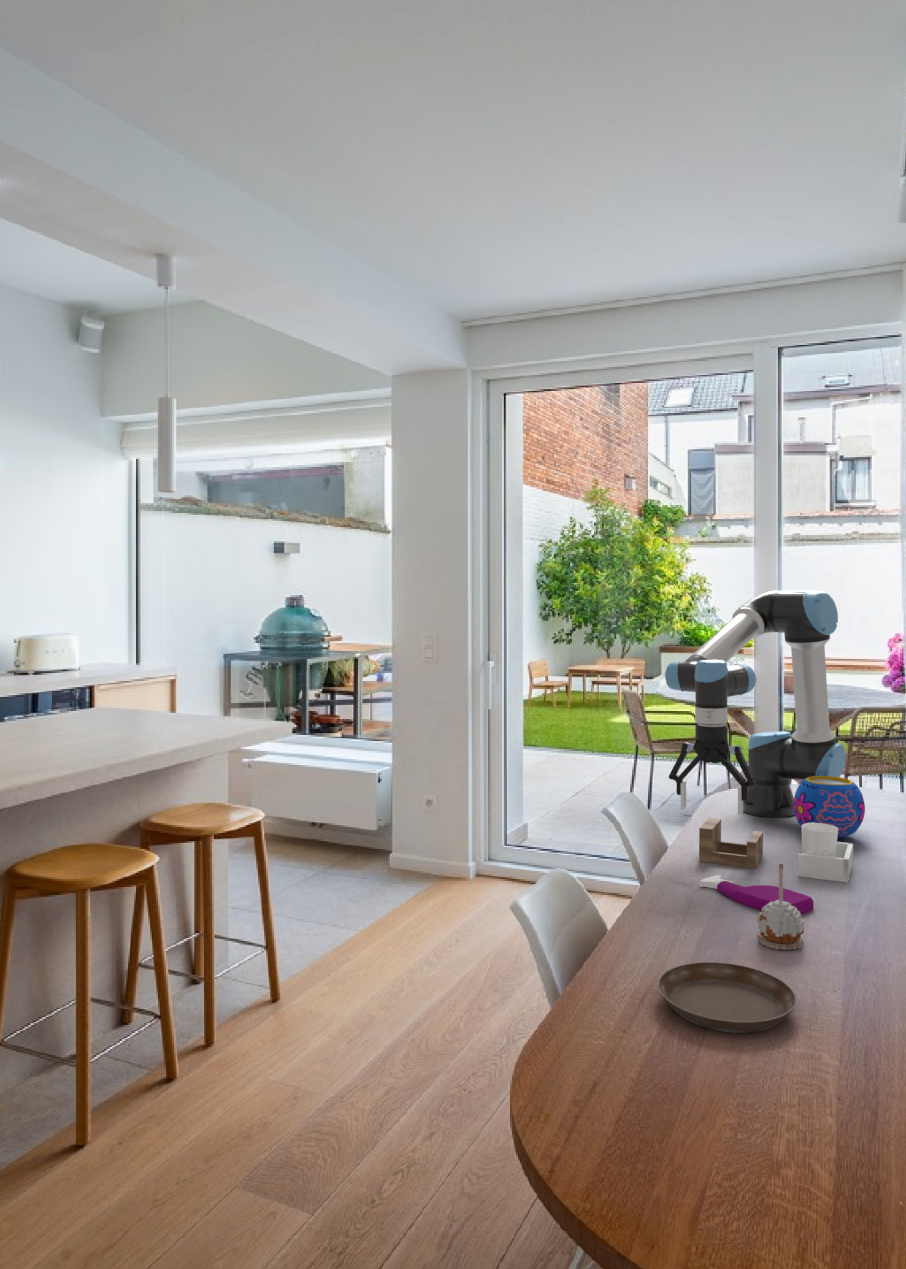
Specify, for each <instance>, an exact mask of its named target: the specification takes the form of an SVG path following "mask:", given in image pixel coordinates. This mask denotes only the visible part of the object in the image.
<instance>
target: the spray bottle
mask: <svg viewBox="0 0 906 1269" xmlns="http://www.w3.org/2000/svg"><path fill="white" fill-rule="evenodd" d="M699 881H700V882H699V887H700V888H710V889H715V890H717V891H718V892H720V893H721V894H723V895H725V896H726V897H728V898H730V899H732V900H733V901H734V902H736V903H738V902H739V903H738V904H741V905H743V906H746V907H748V908H751V909H754V908H755V909H754V910H757V909H758V911H760V910H761V911H760V912H762V908H763V907H764V906H766V905H767V904H768V903H770V902H775V901H776V900H779V886H775V885H763V884H762V885H747V886H743V885H740V884H736V882H735V881H732V880H727V879H723V878H722V875H720V874H718V875H713V876H710V877H706V878H703V879H700V880H699ZM783 901H785V902H789V903H790V904H791V906H794V907H795V908H797V910H798V911H799V912H800V914H801V915H803V914H807V913H811V912H812V911H813V910H814V908H815V907H814V905H815V902H814V900H813V898H812V897H811V896H809V895H807V894H803V893H800V892H797V891H794V890H792V889H787V888H784V887H783Z"/></svg>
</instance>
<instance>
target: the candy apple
mask: <svg viewBox="0 0 906 1269" xmlns="http://www.w3.org/2000/svg"><path fill="white" fill-rule="evenodd" d="M778 869H779V870H778V887H779V900H776V901H775V902H770V903H768V904H767V905H766V906H764V907H763V908H762V911H760V912H759V913H758V916H757V921H756V922H757V929H758V930H759V933H758V934H757V936H756V938H757V941H758V942H759V943H760V944H761V945H764V946H766V947H767V948H771V949H775V950H785V951H786V950H795V949H801V948H803V946H804V945H805V942H804V939H803V938H801V937H802V935H803V934H804V931H805V920H804V918H803V917H802V914H800V912H799V911H798V910H797V908H795V907H794V906H791V904H790V903H789V902H785V901H783V888H784V863H779V864H778Z"/></svg>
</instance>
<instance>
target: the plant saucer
mask: <svg viewBox="0 0 906 1269" xmlns="http://www.w3.org/2000/svg"><path fill="white" fill-rule="evenodd" d="M657 987H658V990H659V993H660V994H661V996H662V998H663V1000H664V1001H665V1002H666V1003H667V1004H668V1006H669V1007H670V1008H671V1009H672V1010H673V1011H674V1012H675V1013H677V1014H678V1015H679V1016H680V1017H682V1018H683V1019H685V1020H686V1021H688V1022H690V1023H693V1024H695V1025H697V1026H700V1027H701V1028H705V1029H710V1030H713V1031H716V1032H717V1031H719V1032H724V1033H734V1034H736V1033H737V1034H738V1033H740V1034H743V1033H744V1034H748V1033H757V1032H762V1031H765V1030H769V1029H771V1028H773V1027H776V1025H779V1024H780V1023H782V1022H783V1021H784V1020H785V1019H786V1018H787V1017H788V1016H790V1014H791V1013H792V1012H793V1010H795V1009H794V1008H795V1006H796V1004H797V995H796V993H795V991H794V990H793V989H792V988H791V987H790V986H789V985H788V984H787V983H786V982H784V981H783V980H782V979H780V978H778V977H776V976H774V975H772V974H770V973H767V972H764V971H762V970H760V969H757V968H752V967H748V966H744V965H740V964H734V963H726V962H715V961H714V962H712V961H711V962H710V961H709V962H708V961H707V962H706V961H705V962H692V963H686V964H682V965H678V966H675V967H672V968H670V969H668V970H666V971H665V972H664V973H663V974H662V975H661V976H660V977H659V979H658V980H657Z"/></svg>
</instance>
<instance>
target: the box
mask: <svg viewBox="0 0 906 1269" xmlns="http://www.w3.org/2000/svg"><path fill="white" fill-rule="evenodd" d="M853 861H854V843H851V842H841V841H837V851H836V858H835V857H827V856H818V855H809V854H802V852H801V853H800V852H799V853H798V854H797V877H801V878H808V877H811V878H810V879H819V880H824V879H825V880H824V881H833V882H843V883H849V881H850V876H851V874H852V868H853V865H854V862H853Z"/></svg>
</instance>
